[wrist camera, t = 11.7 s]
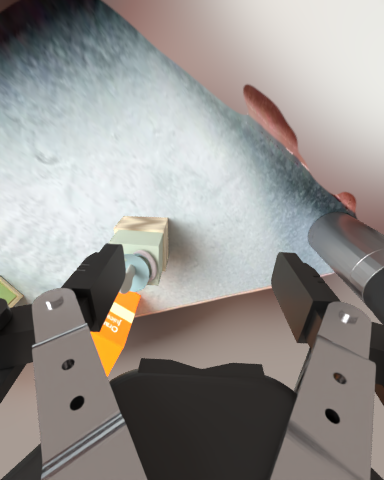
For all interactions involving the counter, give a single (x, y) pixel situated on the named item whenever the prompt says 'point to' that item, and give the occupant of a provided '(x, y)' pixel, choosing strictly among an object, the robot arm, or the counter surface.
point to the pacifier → (137, 271)
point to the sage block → (142, 247)
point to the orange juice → (115, 329)
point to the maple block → (147, 229)
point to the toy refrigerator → (9, 293)
